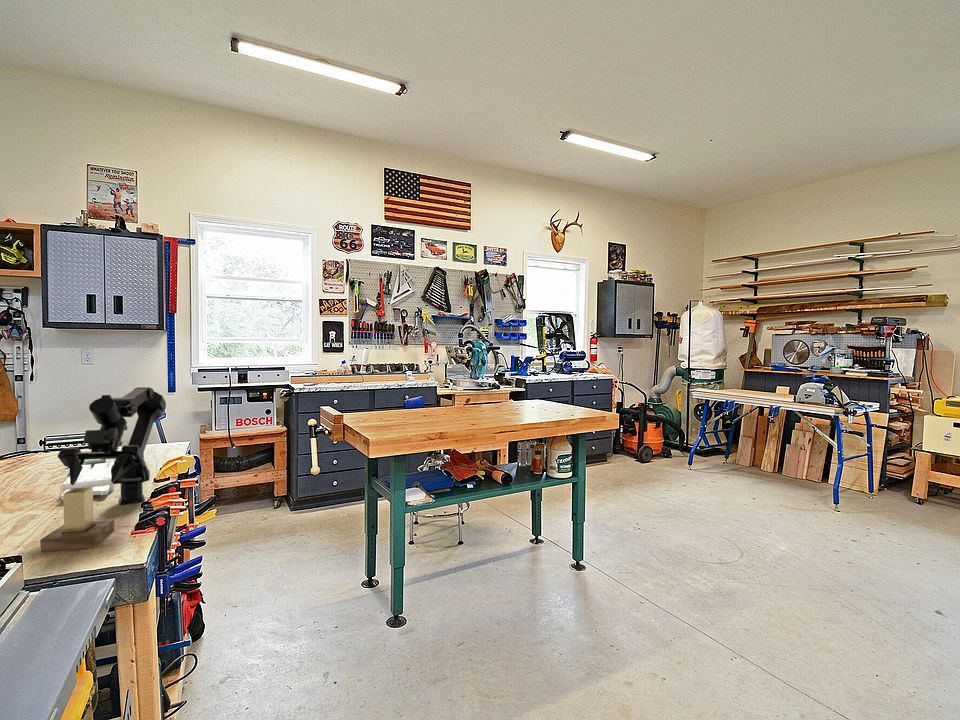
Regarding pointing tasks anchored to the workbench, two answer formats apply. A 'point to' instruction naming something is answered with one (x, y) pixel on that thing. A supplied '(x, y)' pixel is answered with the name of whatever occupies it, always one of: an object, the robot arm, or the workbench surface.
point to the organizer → (93, 479)
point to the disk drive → (94, 462)
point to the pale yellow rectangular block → (78, 510)
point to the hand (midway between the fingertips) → (92, 483)
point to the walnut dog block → (77, 537)
